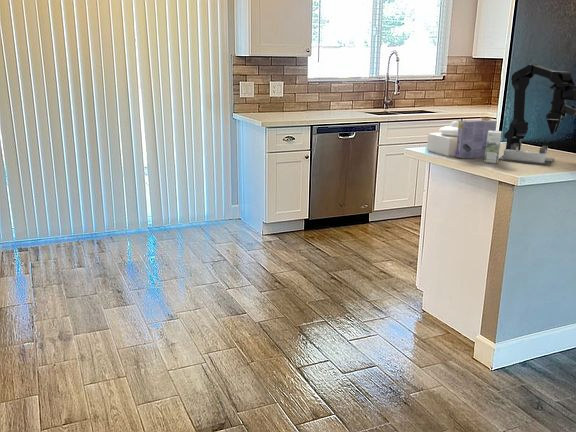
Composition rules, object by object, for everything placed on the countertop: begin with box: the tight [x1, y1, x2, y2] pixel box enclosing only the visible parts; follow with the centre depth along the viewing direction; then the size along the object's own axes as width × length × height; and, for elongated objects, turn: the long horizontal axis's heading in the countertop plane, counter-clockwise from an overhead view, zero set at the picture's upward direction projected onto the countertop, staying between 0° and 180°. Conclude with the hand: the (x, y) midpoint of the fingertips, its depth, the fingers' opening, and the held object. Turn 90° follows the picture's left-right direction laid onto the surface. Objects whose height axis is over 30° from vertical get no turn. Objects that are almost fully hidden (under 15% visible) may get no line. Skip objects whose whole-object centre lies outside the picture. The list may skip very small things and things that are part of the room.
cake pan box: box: [454, 120, 498, 159], centre depth 265 cm, size 19×5×18 cm, turn 106°
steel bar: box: [502, 148, 548, 163], centre depth 258 cm, size 18×4×4 cm, turn 57°
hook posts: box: [501, 143, 555, 163], centre depth 264 cm, size 22×8×6 cm, turn 57°
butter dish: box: [426, 120, 459, 157], centre depth 278 cm, size 18×18×16 cm
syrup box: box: [483, 130, 503, 165], centre depth 253 cm, size 6×6×14 cm
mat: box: [498, 156, 552, 166], centre depth 258 cm, size 22×7×1 cm, turn 57°
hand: (553, 132), depth 262 cm, fingers open, 9 cm apart
